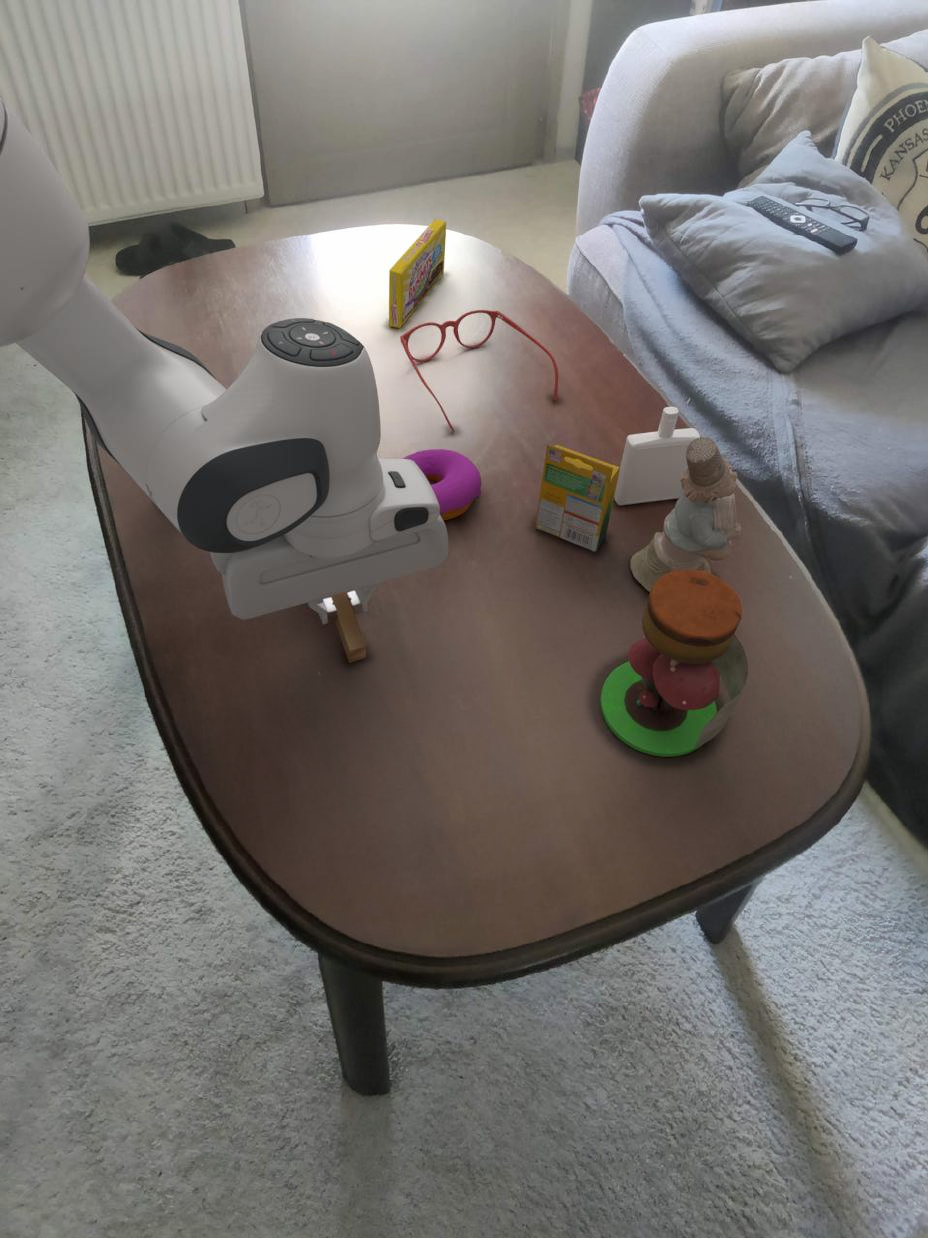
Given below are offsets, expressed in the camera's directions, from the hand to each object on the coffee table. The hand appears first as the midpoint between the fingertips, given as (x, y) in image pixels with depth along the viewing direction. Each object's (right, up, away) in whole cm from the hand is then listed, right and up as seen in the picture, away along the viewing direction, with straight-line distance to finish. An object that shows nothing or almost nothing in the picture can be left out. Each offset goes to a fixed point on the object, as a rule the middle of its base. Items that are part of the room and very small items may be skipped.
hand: (343, 613), depth 82 cm
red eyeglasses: (+13, +30, +29) cm, 44 cm away
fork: (-2, +3, +3) cm, 5 cm away
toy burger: (+30, -9, -3) cm, 31 cm away
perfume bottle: (+33, +13, +16) cm, 39 cm away
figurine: (+33, +4, +8) cm, 35 cm away
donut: (+8, +13, +15) cm, 21 cm away
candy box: (+5, +45, +41) cm, 61 cm away
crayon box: (+23, +9, +12) cm, 28 cm away
